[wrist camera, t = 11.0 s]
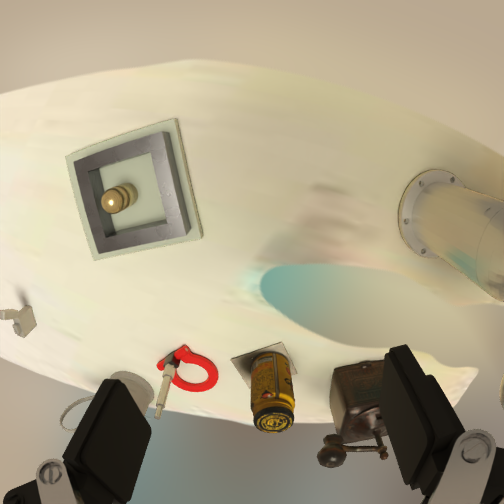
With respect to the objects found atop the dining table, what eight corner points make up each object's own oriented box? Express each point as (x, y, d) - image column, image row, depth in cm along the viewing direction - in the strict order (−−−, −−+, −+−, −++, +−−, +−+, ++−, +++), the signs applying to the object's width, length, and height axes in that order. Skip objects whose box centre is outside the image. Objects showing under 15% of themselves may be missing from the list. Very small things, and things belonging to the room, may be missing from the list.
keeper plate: (177, 119, 34) (174, 118, 32) (203, 235, 39) (201, 239, 37) (70, 155, 35) (65, 156, 33) (98, 257, 40) (93, 260, 38)
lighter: (36, 325, 45) (14, 349, 37) (30, 324, 45) (7, 347, 37) (27, 291, 42) (1, 313, 35) (21, 290, 42) (-5, 311, 35)
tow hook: (229, 374, 47) (188, 340, 44) (225, 437, 35) (173, 404, 32) (193, 393, 49) (153, 363, 46) (184, 453, 37) (134, 423, 34)
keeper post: (134, 180, 35) (116, 186, 30) (140, 203, 36) (123, 213, 31) (114, 186, 35) (93, 193, 30) (120, 208, 36) (100, 219, 31)
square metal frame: (169, 132, 33) (162, 131, 30) (191, 228, 37) (186, 235, 34) (85, 159, 34) (73, 161, 31) (108, 246, 38) (98, 254, 35)
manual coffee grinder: (392, 355, 46) (433, 433, 29) (381, 398, 49) (410, 472, 32) (303, 367, 46) (320, 460, 29) (301, 410, 50) (313, 493, 33)
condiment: (297, 373, 46) (306, 429, 35) (249, 388, 48) (248, 444, 36) (281, 341, 44) (288, 399, 33) (230, 358, 45) (224, 416, 34)
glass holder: (155, 408, 50) (136, 471, 36) (89, 391, 50) (60, 445, 35) (152, 377, 47) (127, 444, 33) (81, 359, 47) (44, 415, 33)
